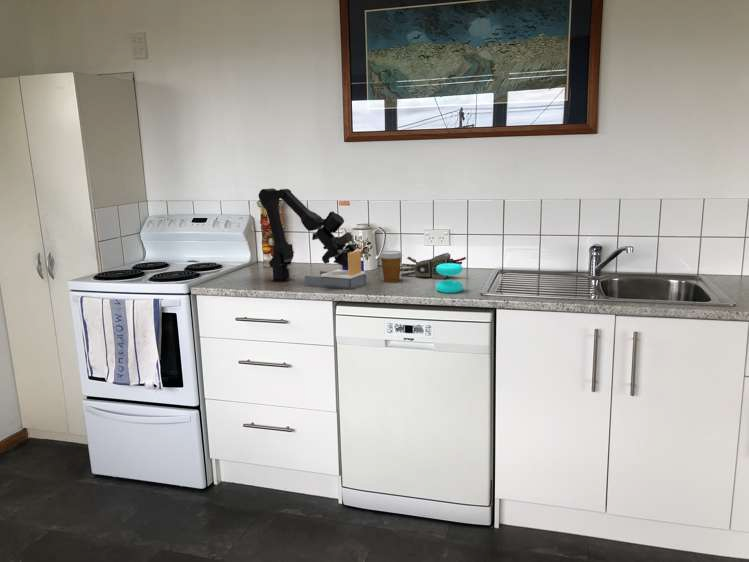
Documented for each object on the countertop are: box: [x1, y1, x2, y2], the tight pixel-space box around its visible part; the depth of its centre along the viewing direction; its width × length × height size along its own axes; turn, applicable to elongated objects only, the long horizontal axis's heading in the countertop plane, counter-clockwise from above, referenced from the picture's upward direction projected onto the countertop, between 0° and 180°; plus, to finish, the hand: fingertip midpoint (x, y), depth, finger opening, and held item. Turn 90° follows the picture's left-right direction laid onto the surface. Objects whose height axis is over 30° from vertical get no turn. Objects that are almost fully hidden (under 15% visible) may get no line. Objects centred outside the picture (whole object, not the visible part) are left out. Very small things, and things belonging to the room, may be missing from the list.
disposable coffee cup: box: [379, 250, 403, 283], centre depth 246 cm, size 10×10×12 cm
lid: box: [321, 249, 367, 279], centre depth 239 cm, size 14×12×10 cm
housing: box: [304, 270, 367, 291], centre depth 242 cm, size 22×12×4 cm, turn 61°
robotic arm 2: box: [400, 252, 467, 280], centre depth 251 cm, size 10×8×30 cm
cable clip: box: [341, 260, 365, 272], centre depth 261 cm, size 12×4×6 cm, turn 146°
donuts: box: [435, 263, 464, 294], centre depth 224 cm, size 10×10×10 cm
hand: (352, 268), depth 237 cm, fingers closed
